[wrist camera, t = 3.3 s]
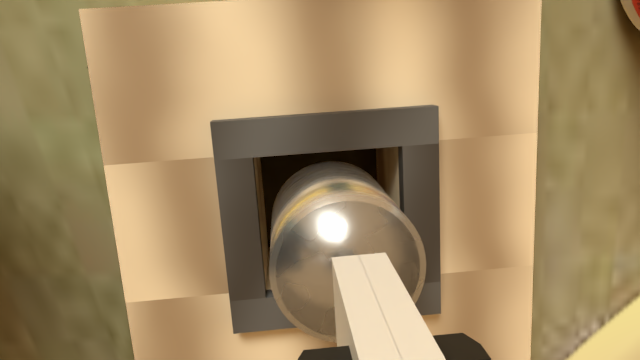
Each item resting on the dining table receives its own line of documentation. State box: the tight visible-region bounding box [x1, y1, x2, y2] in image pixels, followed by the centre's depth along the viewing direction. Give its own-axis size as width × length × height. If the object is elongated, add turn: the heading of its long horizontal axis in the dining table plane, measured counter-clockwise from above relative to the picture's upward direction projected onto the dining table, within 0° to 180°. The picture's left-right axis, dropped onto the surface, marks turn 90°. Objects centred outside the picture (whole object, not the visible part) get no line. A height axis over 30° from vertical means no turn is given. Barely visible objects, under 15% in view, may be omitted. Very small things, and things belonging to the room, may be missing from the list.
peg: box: [269, 161, 426, 343], centre depth 19 cm, size 5×5×6 cm
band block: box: [79, 0, 541, 360], centre depth 24 cm, size 18×18×6 cm
